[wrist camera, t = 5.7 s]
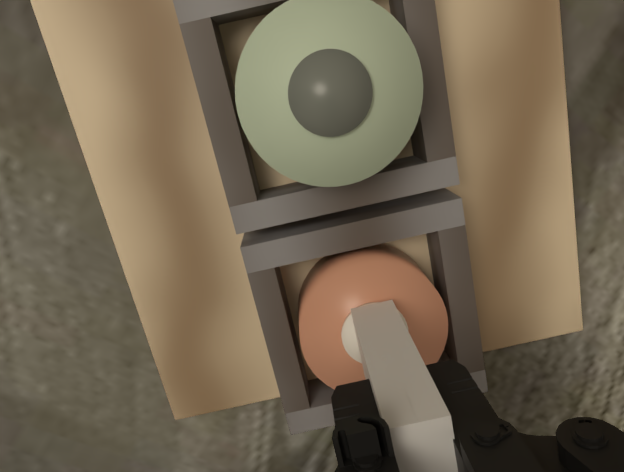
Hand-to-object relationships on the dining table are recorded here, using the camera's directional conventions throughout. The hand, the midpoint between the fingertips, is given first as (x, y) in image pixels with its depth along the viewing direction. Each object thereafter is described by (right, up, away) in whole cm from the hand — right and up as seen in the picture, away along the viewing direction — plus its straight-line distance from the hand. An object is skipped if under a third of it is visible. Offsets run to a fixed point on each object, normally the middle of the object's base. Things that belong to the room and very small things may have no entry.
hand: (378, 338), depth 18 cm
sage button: (-2, +8, -1) cm, 9 cm away
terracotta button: (0, +1, +3) cm, 3 cm away
